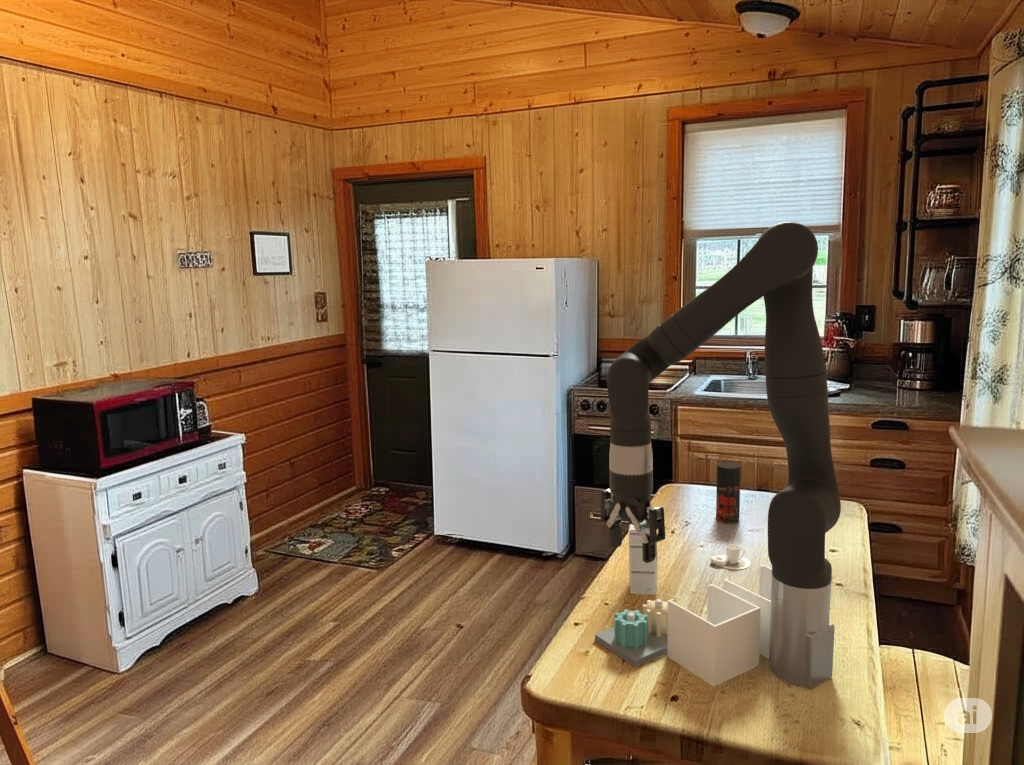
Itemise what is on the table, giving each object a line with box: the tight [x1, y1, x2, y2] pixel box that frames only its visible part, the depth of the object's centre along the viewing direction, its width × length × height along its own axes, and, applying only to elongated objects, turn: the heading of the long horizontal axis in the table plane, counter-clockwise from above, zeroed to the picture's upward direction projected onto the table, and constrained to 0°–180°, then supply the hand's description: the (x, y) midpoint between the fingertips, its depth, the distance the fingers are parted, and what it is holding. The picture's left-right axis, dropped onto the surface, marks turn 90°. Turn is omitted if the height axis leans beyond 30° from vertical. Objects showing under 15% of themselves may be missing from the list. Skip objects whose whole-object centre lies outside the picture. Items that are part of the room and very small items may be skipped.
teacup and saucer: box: [710, 543, 752, 571], centre depth 166 cm, size 9×8×4 cm
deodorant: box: [715, 461, 742, 525], centre depth 191 cm, size 6×6×15 cm
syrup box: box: [628, 520, 658, 596], centre depth 154 cm, size 6×6×14 cm
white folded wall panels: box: [666, 564, 772, 687], centre depth 130 cm, size 25×11×11 cm, turn 121°
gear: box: [613, 608, 647, 649], centre depth 133 cm, size 6×6×4 cm
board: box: [594, 598, 668, 668], centre depth 134 cm, size 11×14×7 cm
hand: (631, 553), depth 130 cm, fingers open, 8 cm apart
